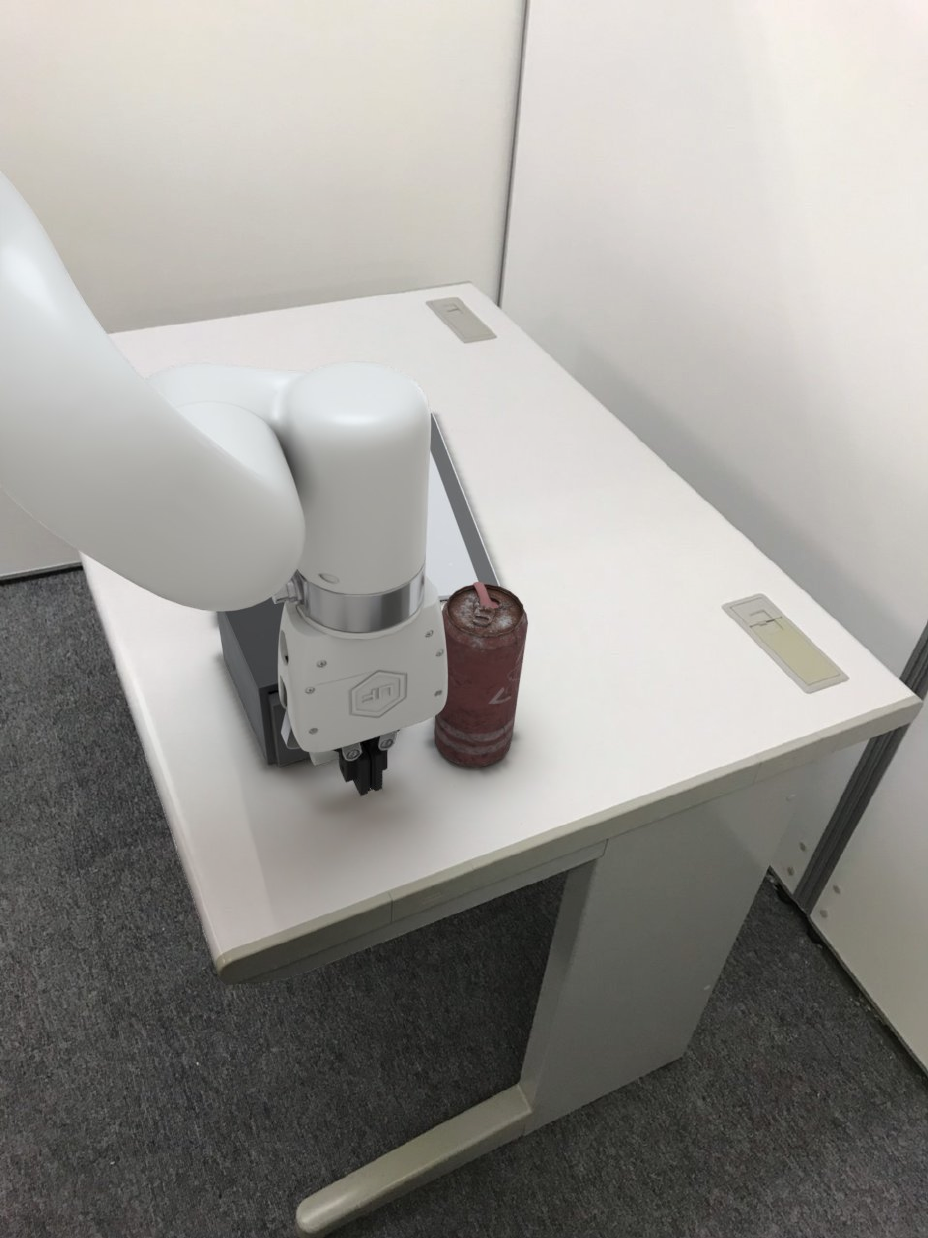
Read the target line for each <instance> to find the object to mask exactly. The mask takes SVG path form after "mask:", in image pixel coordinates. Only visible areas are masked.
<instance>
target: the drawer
mask: <svg viewBox="0 0 928 1238" xmlns="http://www.w3.org/2000/svg"><path fill="white" fill-rule="evenodd" d="M268 701H269V710H270V719H271V727H272V736H273V745H274V754H275V758H276V760H277V762H276V763H277V764H278V765H277V766H278V767H283V766H287V765H290V764H292V763H296V762H299V761H302V760H305V759H308V758H310V760H311V762H312V764H313V765H314V766H319V765H322V764H325V763H328V762H331V761H335V760H339V753H338V752H336V751H333V750H330V751H325V752H307V751H304V750H302V748H297V749H289V748H288V747H287V746H286V743H285V741H284V739H283V736H282V734H281V730H282V726H283V722H284V717H285V713H286V709H285V708H283V706H282V704H281V701H280V696H279V689H278V690H275V691H271V692H269V695H268Z"/></svg>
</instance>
